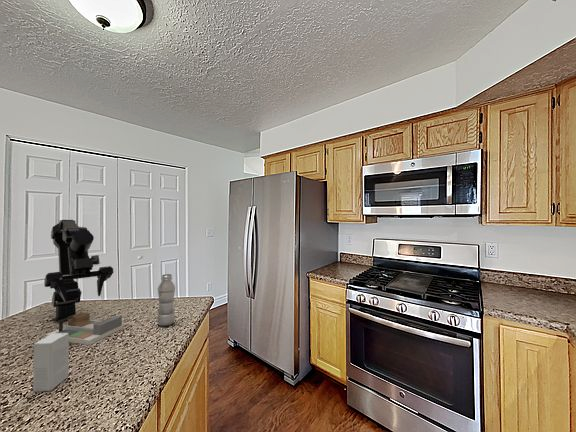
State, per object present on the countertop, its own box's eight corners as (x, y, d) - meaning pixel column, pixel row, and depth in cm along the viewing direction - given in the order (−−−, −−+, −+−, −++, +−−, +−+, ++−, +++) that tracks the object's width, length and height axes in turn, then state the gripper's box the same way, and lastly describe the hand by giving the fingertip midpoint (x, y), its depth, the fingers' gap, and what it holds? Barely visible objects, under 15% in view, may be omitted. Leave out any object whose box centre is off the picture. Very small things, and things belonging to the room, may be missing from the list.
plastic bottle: (168, 328, 102) (169, 277, 102) (153, 327, 103) (154, 276, 103) (178, 322, 108) (179, 273, 108) (164, 320, 110) (164, 273, 110)
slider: (53, 333, 93) (53, 320, 93) (81, 322, 103) (81, 311, 103) (62, 334, 92) (62, 321, 92) (89, 323, 102) (89, 312, 102)
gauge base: (45, 338, 92) (46, 324, 92) (84, 323, 106) (84, 310, 106) (89, 344, 88) (89, 330, 88) (123, 328, 102) (123, 315, 102)
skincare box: (51, 377, 70) (52, 332, 70) (68, 376, 71) (69, 332, 71) (31, 392, 64) (32, 343, 64) (50, 391, 64) (51, 342, 65)
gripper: (47, 249, 85) (50, 295, 79) (114, 245, 99) (120, 284, 93) (43, 264, 91) (45, 308, 85) (106, 259, 105) (112, 296, 99)
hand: (83, 298), depth 90 cm, fingers open, 9 cm apart
